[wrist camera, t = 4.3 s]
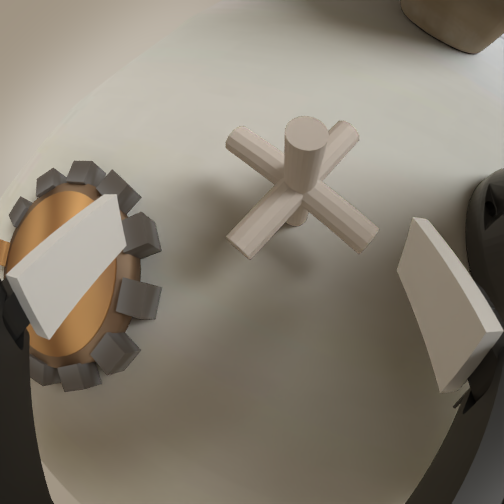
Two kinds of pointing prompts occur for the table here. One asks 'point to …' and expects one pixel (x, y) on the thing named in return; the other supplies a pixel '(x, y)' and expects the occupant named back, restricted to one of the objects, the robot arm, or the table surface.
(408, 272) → the robot arm
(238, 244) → the pipe connector
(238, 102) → the table surface
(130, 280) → the sprocket wheel
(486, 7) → the plant pot
